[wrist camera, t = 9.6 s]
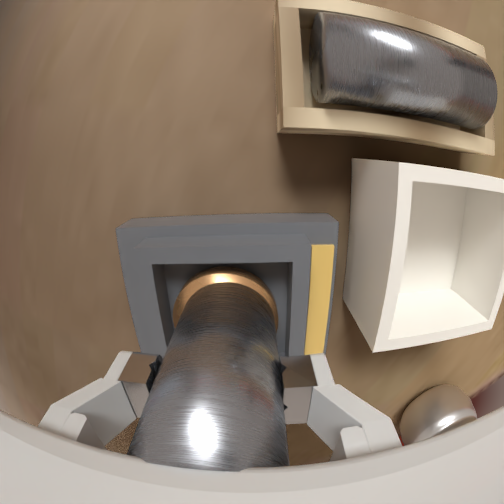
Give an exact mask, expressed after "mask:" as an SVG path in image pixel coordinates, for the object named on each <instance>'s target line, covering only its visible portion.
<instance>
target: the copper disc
mask: <svg viewBox="0 0 504 504" xmlns="http://www.w3.org/2000/svg"><path fill="white" fill-rule="evenodd" d="M218 282H233V283H239V284H242V285H245V286H248V287H250V288H252V289H254V290H255V291H257V292H258V293H259V294H261V295H262V296H263V297H264V298H265V299H266V301H267V302H268V303H269V305H270V307H271V309H272V311H273V314H274V320H275V329H276V333H277V329H278V312H277V305H276V301H275V298H274V296H273V294H272V292H271V290H270V289H269V287H268V286H267V285H266V284H265V283H264V282H263V281H262V280H261V279H260V278H258V277H257V276H256V275H254V274H252V273H250V272H248V271H246V270H243V269H240V268H236V267H228V266H220V267H213V268H208V269H206V270H203V271H201V272H199V273H197V274H195V275H194V276H192V277H191V278H190V279H189V280H188V281H187V282H186V283H185V284H184V286H183V287H182V289H181V291H180V293H179V295H178V297H177V299H176V301H175V304H174V308H173V323H174V327H175V328H176V326H177V323H178V321H179V319H180V316H181V314H182V311H183V309H184V307H185V304H186V303H187V301H188V299H189V298H190V297H191V296H192V295H193V294H194V293H195V292H196V291H197V290H199V289H200V288H202V287H204V286H206V285H209V284H213V283H218Z"/></svg>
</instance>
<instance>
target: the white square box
mask: <svg viewBox="0 0 504 504" xmlns="http://www.w3.org/2000/svg"><path fill="white" fill-rule="evenodd" d="M503 293H504V179H500V178H496V177H491V176H486V175H481V174H476V173H471V172H465V171H460V170H454V169H447V168H441V167H434V166H427V165H419V164H411V163H402V162H393V161H382V160H370V159H357V158H352V176H351V205H350V223H349V238H348V251H347V262H346V272H345V281H344V290H343V300H344V302H345V304H346V305H347V307H348V309H349V311H350V312H351V314H352V316H353V318H354V319H355V321H356V323H357V325H358V327H359V328H360V330H361V332H362V334H363V336H364V337H365V339H366V341H367V343H368V345H369V347H370V349H371V350H372V352H373V353H374V352H381V351H388V350H395V349H401V348H407V347H413V346H418V345H424V344H429V343H434V342H439V341H444V340H448V339H453V338H457V337H462V336H466V335H470V334H474V333H478V332H482V331H485V330H489V329H492V326H493V323H494V321H495V318H496V315H497V312H498V309H499V306H500V303H501V300H502V296H503Z"/></svg>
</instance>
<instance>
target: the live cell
mask: <svg viewBox="0 0 504 504" xmlns="http://www.w3.org/2000/svg"><path fill="white" fill-rule="evenodd" d="M309 73H310V83H311V89H312V93H313V96H314V98H315V100H316V102H318V103H330V104H341V105H351V106H360V107H368V108H375V109H382V110H389V111H395V112H400V113H406V114H411V115H416V116H421V117H426V118H430V119H435V120H439V121H443V122H447V123H451V124H455V125H459V126H462V127H466V128H469V129H478V128H481V127H482V126H484V125H485V124H486V123H487V122H488V121H489V120H490V118H491V117H492V115H493V113H494V110H495V107H496V103H497V85H496V80H495V77H494V74H493V72H492V70H491V68H490V67H489V65H488V64H487V63H486V62H485V61H484V60H483V59H482V58H480V57H478V56H476V55H474V54H472V53H470V52H467V51H465V50H463V49H460V48H458V47H456V46H453V45H451V44H448V43H446V42H443V41H441V40H438V39H435V38H432V37H429V36H427V35H424V34H421V33H417V32H414V31H411V30H408V29H404V28H401V27H397V26H393V25H390V24H386V23H382V22H377V21H373V20H368V19H363V18H358V17H353V16H347V15H341V14H334V13H326V12H318V13H317V14H316V16H315V18H314V21H313V24H312V28H311V34H310V44H309Z"/></svg>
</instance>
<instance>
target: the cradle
mask: <svg viewBox="0 0 504 504" xmlns="http://www.w3.org/2000/svg"><path fill="white" fill-rule="evenodd" d="M338 228H339V222H338V221H337V220H335V219H334V218H333V217H332V216H330V215H329V214H328V213H266V214H223V215H194V216H172V217H152V218H135V219H130V220H129V221H127V222H125V223H124V224H122V225H120V226H119V227H117V228H116V235H117V242H118V248H119V254H120V260H121V266H122V272H123V277H124V282H125V287H126V292H127V297H128V301H129V306H130V310H131V314H132V319H133V323H134V327H135V331H136V335H137V338H138V342H139V346H140V349H141V353H149V354H159V355H161V356H162V359H163V357H164V355H165V352H166V350H167V348H168V345H169V343H170V340H171V338H172V335H173V333H174V331H175V327H174V323H173V308H174V304H175V301H176V299H177V297H178V295H179V293H180V291H181V289H182V287H183V286H184V284H185V283H186V282H187V281H188V280H189V279H190V278H191V277H192V276H194V275H195V274H197V273H199V272H201V271H203V270H206V269H208V268H213V267H220V266H228V267H236V268H240V269H243V270H246V271H248V272H250V273H252V274H254V275H256V276H257V277H258V278H260V279H261V280H262V281H263V282H264V283H265V284H266V285H267V286H268V287H269V289H270V290H271V292H272V294H273V296H274V298H275V301H276V305H277V312H278V329H277V333H276V338H277V347H278V356H279V357H280V356H295V355H309V354H317V353H324V354H326V347H327V340H328V333H329V325H330V317H331V309H332V300H333V290H334V280H335V269H336V257H337V244H338Z"/></svg>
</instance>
